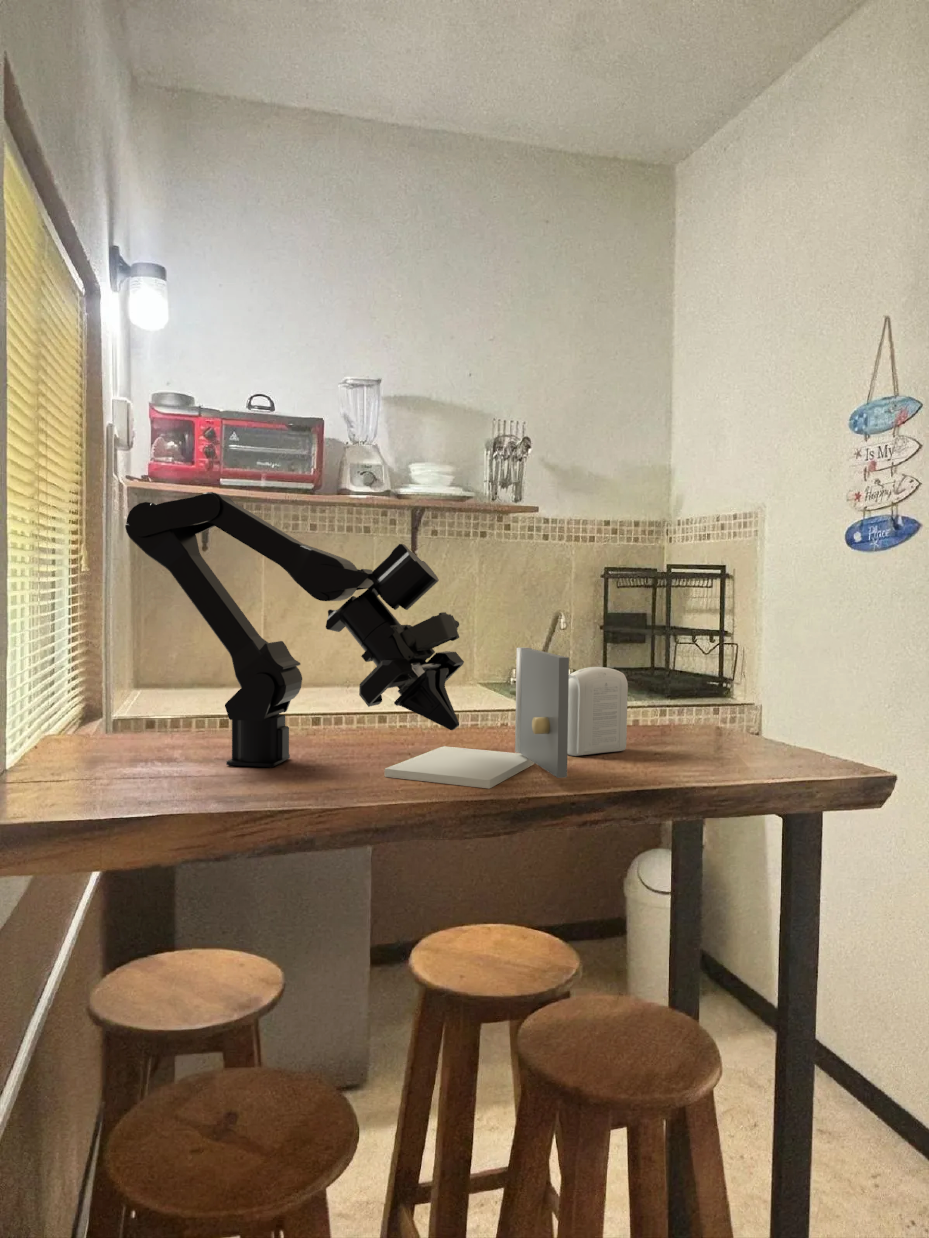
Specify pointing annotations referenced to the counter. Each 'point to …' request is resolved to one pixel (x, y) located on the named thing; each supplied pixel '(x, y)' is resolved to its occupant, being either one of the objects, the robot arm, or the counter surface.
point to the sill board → (461, 767)
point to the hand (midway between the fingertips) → (455, 727)
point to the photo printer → (597, 711)
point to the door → (542, 709)
